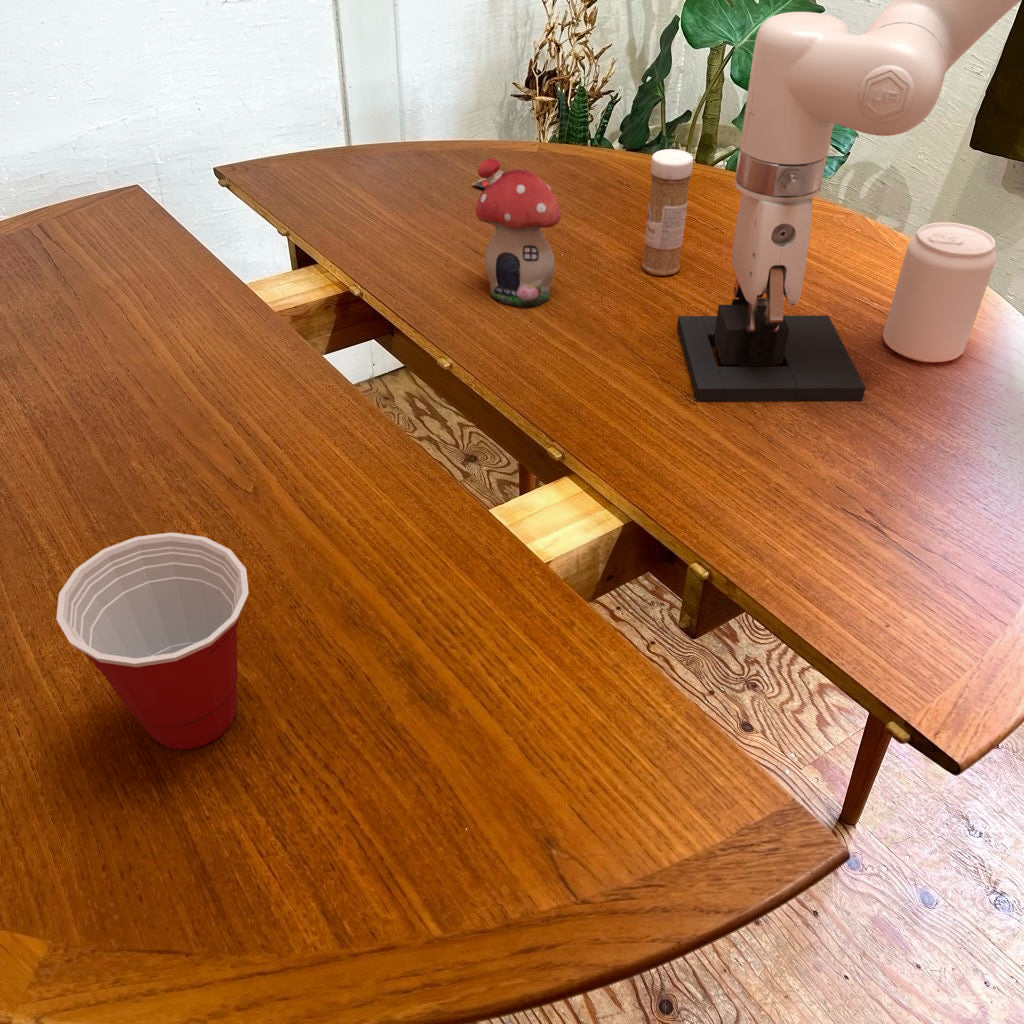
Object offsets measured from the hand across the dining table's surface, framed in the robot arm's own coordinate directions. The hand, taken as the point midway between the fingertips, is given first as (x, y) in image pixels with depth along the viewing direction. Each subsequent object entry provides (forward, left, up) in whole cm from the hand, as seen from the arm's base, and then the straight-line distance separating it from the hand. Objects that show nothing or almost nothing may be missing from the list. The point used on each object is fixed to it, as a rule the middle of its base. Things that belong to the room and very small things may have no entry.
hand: (748, 347), depth 97 cm
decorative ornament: (+23, -15, -2) cm, 28 cm away
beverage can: (-19, -3, -2) cm, 19 cm away
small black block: (0, 0, 0) cm, 0 cm away
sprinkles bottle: (+6, -21, -2) cm, 22 cm away
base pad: (-2, 0, -2) cm, 3 cm away
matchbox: (+26, -46, -2) cm, 53 cm away
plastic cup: (+45, +44, -2) cm, 63 cm away
